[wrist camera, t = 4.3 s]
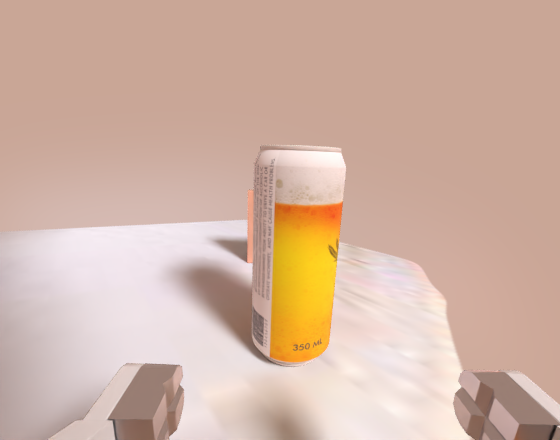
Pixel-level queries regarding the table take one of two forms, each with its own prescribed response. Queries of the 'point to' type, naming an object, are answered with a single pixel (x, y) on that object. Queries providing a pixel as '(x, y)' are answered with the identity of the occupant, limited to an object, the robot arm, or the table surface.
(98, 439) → the robot arm
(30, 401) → the table surface
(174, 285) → the table surface
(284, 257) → the beer can
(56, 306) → the table surface
